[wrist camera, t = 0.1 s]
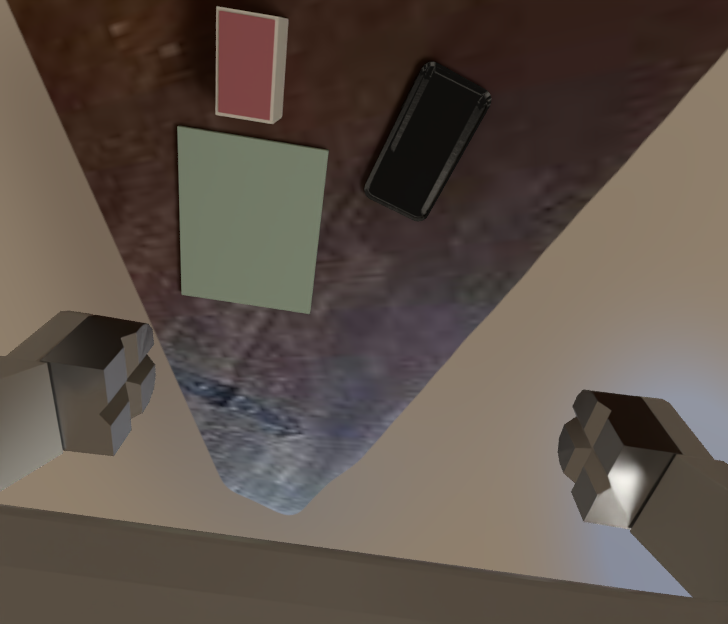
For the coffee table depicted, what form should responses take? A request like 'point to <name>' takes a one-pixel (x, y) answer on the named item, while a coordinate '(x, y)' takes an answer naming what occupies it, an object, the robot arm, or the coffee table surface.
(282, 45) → the card case
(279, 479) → the coffee table surface
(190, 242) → the mat
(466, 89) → the phone
